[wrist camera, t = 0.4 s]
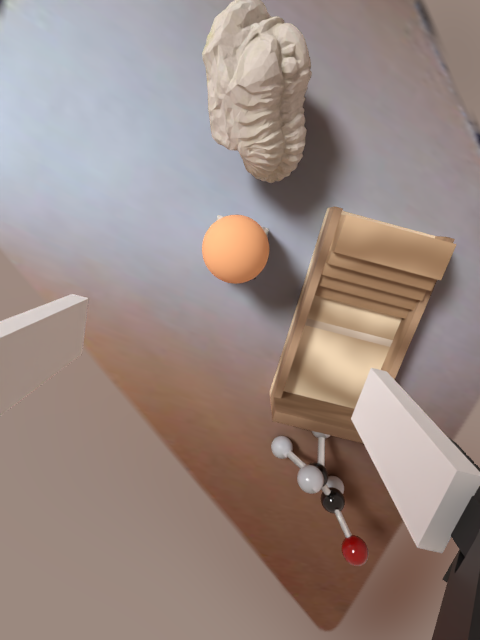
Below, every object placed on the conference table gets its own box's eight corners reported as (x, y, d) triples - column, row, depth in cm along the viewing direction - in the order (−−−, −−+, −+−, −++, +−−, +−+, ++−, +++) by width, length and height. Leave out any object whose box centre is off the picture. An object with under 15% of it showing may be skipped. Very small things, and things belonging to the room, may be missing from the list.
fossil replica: (302, 184, 34) (322, 168, 24) (221, 190, 34) (209, 176, 25) (300, 44, 31) (322, -39, 21) (210, 52, 31) (192, -25, 21)
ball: (214, 208, 32) (206, 204, 26) (275, 224, 32) (280, 224, 26) (201, 269, 33) (190, 278, 28) (258, 284, 34) (260, 296, 28)
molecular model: (324, 408, 41) (348, 469, 31) (367, 477, 43) (402, 555, 33) (266, 437, 42) (271, 505, 32) (312, 503, 45) (329, 585, 35)
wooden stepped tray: (327, 208, 34) (343, 204, 28) (436, 237, 35) (475, 240, 29) (269, 392, 40) (272, 421, 34) (363, 415, 41) (382, 448, 35)
